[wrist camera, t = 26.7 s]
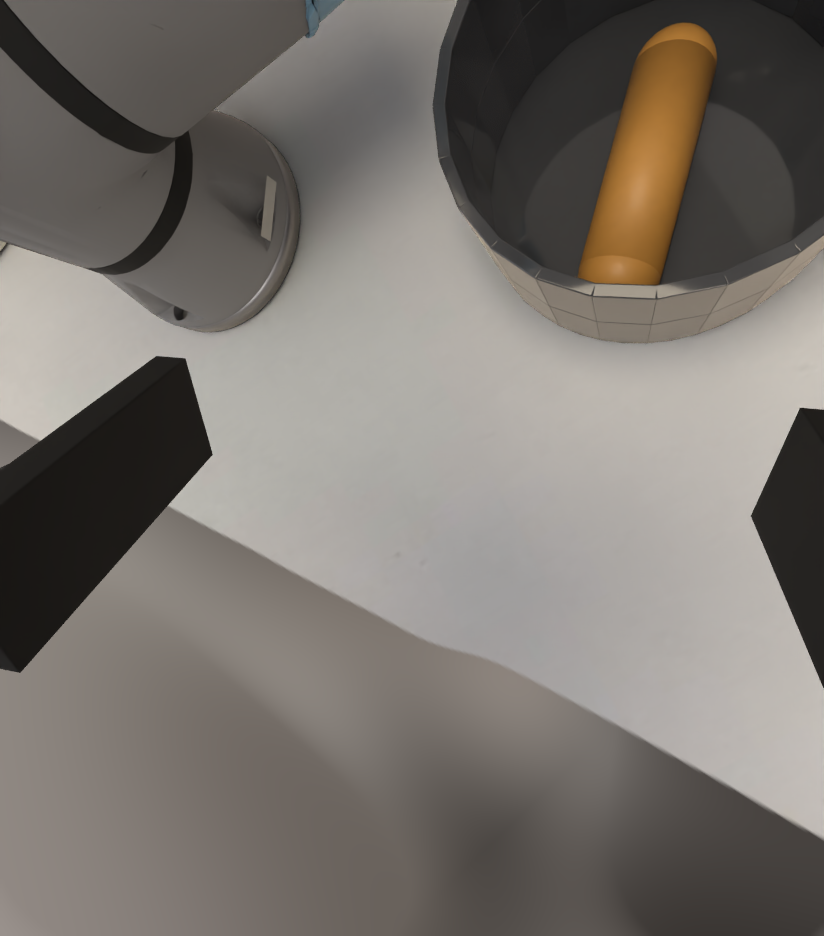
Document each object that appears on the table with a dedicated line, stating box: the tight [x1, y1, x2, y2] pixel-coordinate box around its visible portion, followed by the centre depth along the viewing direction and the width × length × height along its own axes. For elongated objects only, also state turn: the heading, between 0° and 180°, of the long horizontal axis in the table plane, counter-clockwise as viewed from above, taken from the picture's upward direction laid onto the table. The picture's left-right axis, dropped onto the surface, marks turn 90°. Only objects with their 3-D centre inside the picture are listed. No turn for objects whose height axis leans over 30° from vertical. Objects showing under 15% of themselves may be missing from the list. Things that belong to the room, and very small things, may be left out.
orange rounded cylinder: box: [578, 23, 717, 285], centre depth 28 cm, size 15×4×4 cm, turn 167°
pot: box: [433, 0, 824, 343], centre depth 27 cm, size 19×19×10 cm
